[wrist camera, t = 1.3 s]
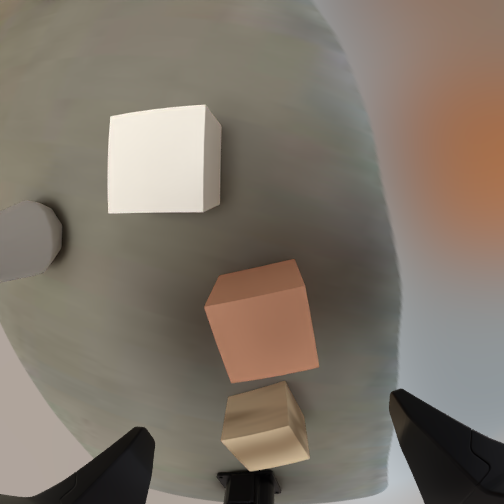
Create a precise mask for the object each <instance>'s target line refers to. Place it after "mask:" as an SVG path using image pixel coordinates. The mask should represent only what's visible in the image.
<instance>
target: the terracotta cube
mask: <svg viewBox="0 0 504 504" xmlns="http://www.w3.org/2000/svg"><path fill="white" fill-rule="evenodd" d="M204 308H205V311H206V314H207V317H208V320H209V323H210V326H211V329H212V332H213V335H214V337H215V340H216V343H217V346H218V349H219V351H220V354H221V357H222V360H223V362H224V365H225V368H226V370H227V373H228V376H229V378H230V381H231V383H236V382H243V381H250V380H257V379H263V378H269V377H275V376H280V375H285V374H290V373H295V372H300V371H305V370H309V369H314V368H318V367H319V363H318V356H317V350H316V344H315V338H314V332H313V326H312V321H311V315H310V309H309V304H308V299H307V293H306V288H305V284H304V282H303V279H302V277H301V274H300V272H299V269H298V267H297V264H296V262H295V259H291V260H287V261H282V262H278V263H274V264H269V265H265V266H260V267H256V268H251V269H247V270H242V271H238V272H233V273H228V274H224V275H219V277H218V279H217V281H216V283H215V285H214V287H213V289H212V291H211V293H210V295H209V298H208V300H207V302H206V304H205V306H204Z"/></svg>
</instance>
